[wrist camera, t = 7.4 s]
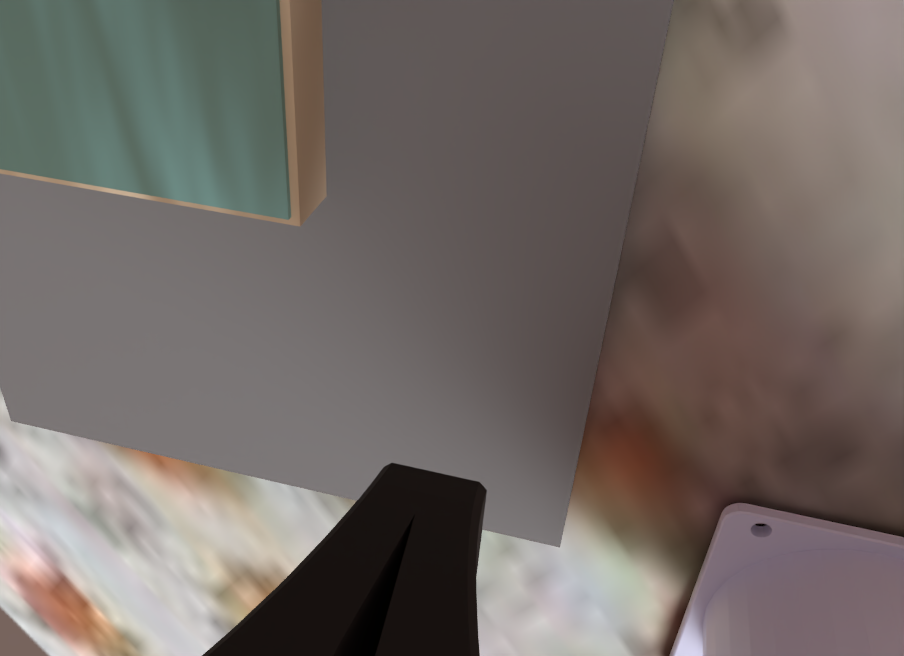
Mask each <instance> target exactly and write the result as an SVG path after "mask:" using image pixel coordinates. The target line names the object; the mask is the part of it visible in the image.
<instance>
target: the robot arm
mask: <svg viewBox="0 0 904 656" xmlns="http://www.w3.org/2000/svg"><path fill="white" fill-rule="evenodd" d="M486 494H487V490H486V489H485V487H484V486H483V485H482V484H481V483H480V482H478V481H473V480H469V479H464V478H460V477H455V476H451V475H446V474H441V473H437V472H432V471H428V470H423V469H419V468H414V467H410V466H405V465H401V464H396V463H390V464H388V465H386V466H385V467H383V469H382V470H381V471H380V473H379V474H378V475H377V477H376V478H375V479H374V480H373V482H372V483H371V484H370V486H369V487H368V488H367V489H366V490H365V492H364V493H363V494H362V495H361V497H360V498H359V499H358V500H357V502H356V503H355V504H354V505H353V506H352V507H351V509H350V510H349V511H348V512H347V513H346V514H345V516H344V517H343V518H342V519H341V520H340V521H339V522H338V523H337V525H336V526H335V527H334V528H333V529H332V530H331V531H330V533H329V534H328V535H327V536H326V537H325V538H324V539H323V540H322V541H321V542H320V543H319V544H318V545H317V546H316V547H315V549H314V550H313V551H312V552H311V553H310V554H309V555H308V556H307V557H306V558H305V559H304V560H303V561H302V562H301V563H300V564H299V565H298V566H297V567H296V569H295V570H294V571H293V572H292V573H291V574H290V575H289V576H288V577H287V578H286V579H285V580H284V581H283V582H282V583H281V584H280V585H279V586H278V587H277V588H276V589H275V590H273V591H272V592H271V593H270V594H269V595H268V596H267V597H266V598H265V599H264V600H263V601H262V602H261V603H260V604H259V605H258V606H257V607H256V608H254V609H253V610H252V611H251V612H250V613H249V614H248V615H247V616H246V617H245V618H244V619H243V620H242V621H241V622H240V623H239V624H238V625H236V626H235V627H234V628H233V629H232V630H231V631H230V632H229V633H228V634H226V635H225V636H224V637H223V638H222V639H221V640H220V641H218V642H217V643H216V644H215V645H214V646H213V647H212V648H210V649H209V650H208V651H207V652H206V653H205V654H203V655H202V656H480V655H479V642H478V623H477V598H476V574H477V566H478V558H479V550H480V542H481V534H482V526H483V518H484V510H485V502H486ZM758 523H764V524H767V525H765V526H756V525H755V524H758ZM670 656H904V537H901V536H896V535H891V534H887V533H882V532H877V531H873V530H868V529H863V528H859V527H854V526H849V525H844V524H840V523H835V522H830V521H826V520H821V519H816V518H812V517H807V516H802V515H798V514H793V513H788V512H784V511H779V510H774V509H770V508H765V507H760V506H756V505H751V504H746V503H735V504H731V505H729V506H727V507H725V509H724V510H723V511H722V513H721V516H720V519H719V522H718V524H717V527H716V530H715V533H714V535H713V538H712V541H711V543H710V546H709V549H708V552H707V554H706V557H705V560H704V563H703V565H702V568H701V571H700V574H699V576H698V579H697V582H696V584H695V587H694V590H693V593H692V595H691V598H690V601H689V604H688V606H687V609H686V612H685V615H684V617H683V620H682V623H681V626H680V628H679V631H678V634H677V636H676V639H675V642H674V645H673V647H672V650H671V653H670Z"/></svg>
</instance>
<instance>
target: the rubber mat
mask: <svg viewBox="0 0 904 656" xmlns="http://www.w3.org/2000/svg"><path fill="white" fill-rule="evenodd" d="M673 3H674V0H321V4H322V41H323V79H324V117H325V155H326V192H327V196H326V197H325V199H324V200H323V201H322V202H321V203H320V204H319V205H318V207H317V208H316V209H315V210H314V211H313V212H312V214H311V215H310V216H309V217H308V218H307V219H306V221H305V222H304V223H303V224H302V225H301V226H294V225H288V224H283V223H277V222H272V221H266V220H260V219H255V218H249V217H243V216H238V215H232V214H226V213H221V212H215V211H209V210H204V209H198V208H192V207H187V206H181V205H176V204H170V203H164V202H159V201H153V200H147V199H142V198H136V197H130V196H125V195H119V194H113V193H108V192H102V191H96V190H91V189H85V188H79V187H74V186H68V185H63V184H57V183H51V182H46V181H40V180H34V179H29V178H23V177H17V176H12V175H6V174H0V388H1V391H2V394H3V397H4V400H5V403H6V406H7V409H8V412H9V415H10V418H11V421H14V422H18V423H22V424H27V425H31V426H35V427H40V428H44V429H48V430H53V431H57V432H61V433H66V434H70V435H74V436H79V437H83V438H87V439H92V440H96V441H100V442H105V443H109V444H113V445H118V446H122V447H127V448H131V449H135V450H140V451H144V452H148V453H153V454H157V455H161V456H166V457H170V458H174V459H179V460H183V461H187V462H192V463H196V464H200V465H205V466H209V467H213V468H218V469H222V470H226V471H231V472H235V473H239V474H244V475H248V476H252V477H257V478H261V479H265V480H270V481H274V482H278V483H283V484H287V485H291V486H296V487H300V488H304V489H309V490H313V491H317V492H322V493H326V494H331V495H335V496H339V497H344V498H348V499H352V500H358V499H359V498H360V497H361V495H362V494H363V493H364V492H365V490H366V489H367V488H368V487H369V486H370V484H371V483H372V482H373V480H374V479H375V478H376V477H377V475H378V474H379V473H380V471H381V470H382V469H383V467H385V466H386V465H388V464H390V463H396V464H401V465H405V466H410V467H414V468H419V469H423V470H428V471H432V472H437V473H441V474H446V475H451V476H455V477H460V478H464V479H469V480H473V481H478V482H480V483H481V484H482V485H483V486H484V487H485V489H486V490H487V494H486V502H485V510H484V518H483V526H482V530H487V531H491V532H495V533H500V534H504V535H508V536H513V537H517V538H522V539H526V540H530V541H535V542H539V543H543V544H548V545H552V546H556V547H560V544H561V539H562V534H563V529H564V525H565V520H566V515H567V510H568V505H569V501H570V496H571V491H572V486H573V482H574V477H575V472H576V467H577V462H578V458H579V453H580V448H581V443H582V438H583V434H584V429H585V424H586V419H587V414H588V410H589V405H590V400H591V395H592V391H593V386H594V381H595V376H596V371H597V367H598V362H599V357H600V352H601V347H602V343H603V338H604V333H605V328H606V323H607V319H608V314H609V309H610V304H611V300H612V295H613V290H614V285H615V280H616V276H617V271H618V266H619V261H620V256H621V252H622V247H623V242H624V237H625V232H626V228H627V223H628V218H629V213H630V209H631V204H632V199H633V194H634V189H635V185H636V180H637V175H638V170H639V165H640V161H641V156H642V151H643V146H644V141H645V137H646V132H647V127H648V122H649V118H650V113H651V108H652V103H653V98H654V94H655V89H656V84H657V79H658V74H659V70H660V65H661V60H662V55H663V50H664V46H665V41H666V36H667V31H668V26H669V22H670V17H671V12H672V7H673Z"/></svg>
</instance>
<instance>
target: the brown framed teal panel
mask: <svg viewBox="0 0 904 656" xmlns="http://www.w3.org/2000/svg"><path fill="white" fill-rule="evenodd" d="M0 174H6V175H12V176H17V177H23V178H29V179H34V180H40V181H46V182H51V183H57V184H63V185H68V186H74V187H79V188H85V189H91V190H96V191H102V192H108V193H113V194H119V195H125V196H130V197H136V198H142V199H147V200H153V201H159V202H164V203H170V204H176V205H181V206H187V207H192V208H198V209H204V210H209V211H215V212H221V213H226V214H232V215H238V216H243V217H249V218H255V219H260V220H266V221H272V222H277V223H283V224H288V225H294V226H301V225H302V224H303V223H304V222H305V221H306V219H307V218H308V217H309V216H310V215H311V214H312V212H313V211H314V210H315V209H316V208H317V207H318V205H319V204H320V203H321V202H322V201H323V200H324V199H325V197H326V196H327V192H326V155H325V117H324V79H323V41H322V4H321V0H0Z"/></svg>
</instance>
